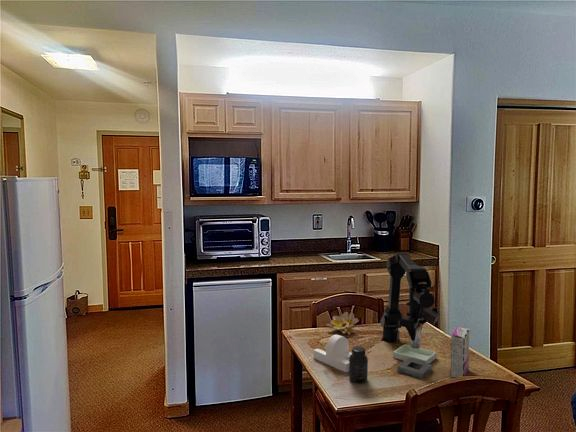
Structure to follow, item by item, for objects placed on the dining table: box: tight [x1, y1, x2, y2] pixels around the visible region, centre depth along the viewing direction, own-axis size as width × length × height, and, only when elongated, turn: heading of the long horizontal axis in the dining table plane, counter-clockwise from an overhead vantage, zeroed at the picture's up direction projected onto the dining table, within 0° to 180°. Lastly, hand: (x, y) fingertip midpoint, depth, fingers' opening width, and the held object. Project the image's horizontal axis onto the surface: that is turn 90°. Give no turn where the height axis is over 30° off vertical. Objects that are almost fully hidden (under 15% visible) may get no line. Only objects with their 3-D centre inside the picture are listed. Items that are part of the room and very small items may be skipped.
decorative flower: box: [326, 311, 360, 335], centre depth 206 cm, size 15×11×10 cm
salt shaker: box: [410, 322, 423, 349], centre depth 163 cm, size 5×5×10 cm
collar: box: [396, 358, 433, 380], centre depth 163 cm, size 10×10×2 cm
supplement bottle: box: [348, 345, 369, 385], centre depth 154 cm, size 7×7×12 cm
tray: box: [392, 343, 437, 365], centre depth 175 cm, size 14×11×2 cm
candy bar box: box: [450, 326, 470, 379], centre depth 160 cm, size 11×5×16 cm, turn 148°
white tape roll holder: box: [313, 334, 352, 374], centre depth 171 cm, size 18×10×11 cm, turn 41°
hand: (415, 339), depth 163 cm, fingers closed on salt shaker, 4 cm apart
